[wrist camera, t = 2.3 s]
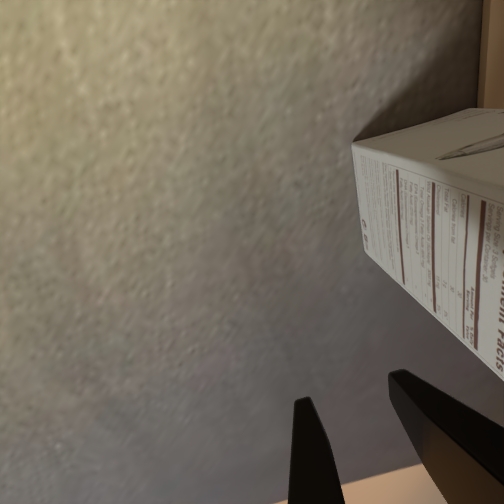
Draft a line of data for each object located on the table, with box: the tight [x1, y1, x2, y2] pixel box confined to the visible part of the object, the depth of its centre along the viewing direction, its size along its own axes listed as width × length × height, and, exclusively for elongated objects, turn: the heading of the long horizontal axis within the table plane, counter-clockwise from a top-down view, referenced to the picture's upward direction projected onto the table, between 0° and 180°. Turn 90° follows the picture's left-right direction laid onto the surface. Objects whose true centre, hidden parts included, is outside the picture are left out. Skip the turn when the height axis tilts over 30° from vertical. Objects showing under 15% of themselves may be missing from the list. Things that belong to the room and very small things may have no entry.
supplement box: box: [352, 108, 504, 381], centre depth 15 cm, size 7×7×13 cm
